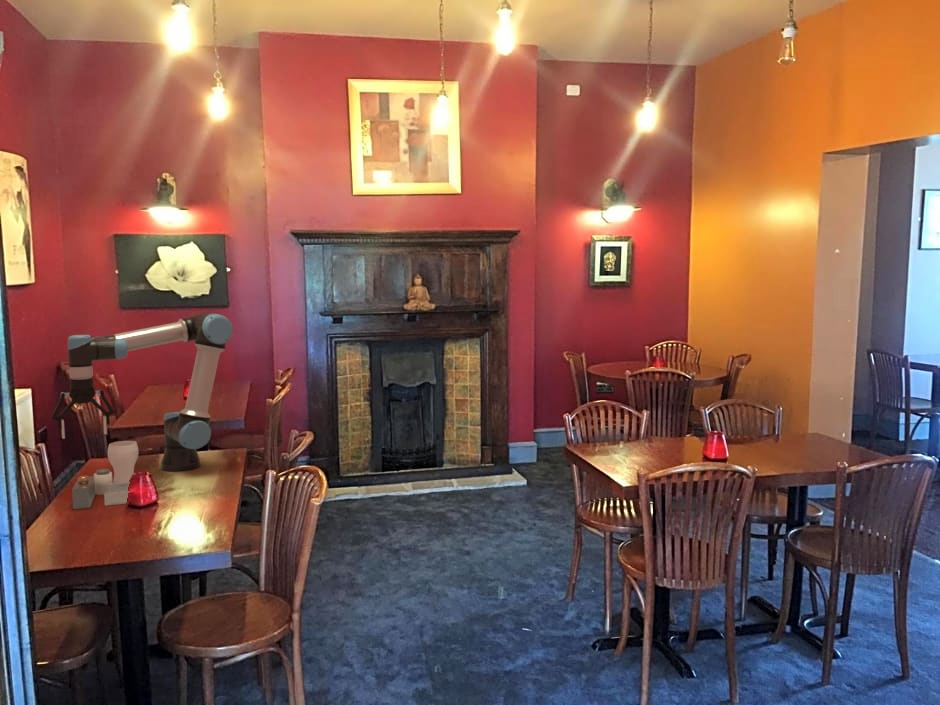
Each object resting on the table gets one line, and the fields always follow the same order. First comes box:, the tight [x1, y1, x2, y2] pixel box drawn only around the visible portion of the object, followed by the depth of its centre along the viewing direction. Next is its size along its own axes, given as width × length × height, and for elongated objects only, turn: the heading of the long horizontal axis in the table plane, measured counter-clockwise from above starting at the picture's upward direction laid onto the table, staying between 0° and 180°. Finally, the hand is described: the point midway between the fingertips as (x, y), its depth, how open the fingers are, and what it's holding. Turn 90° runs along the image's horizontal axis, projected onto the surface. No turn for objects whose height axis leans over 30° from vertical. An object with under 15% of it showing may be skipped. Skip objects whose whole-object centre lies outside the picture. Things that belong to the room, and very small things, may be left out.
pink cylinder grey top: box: [93, 468, 113, 496], centre depth 269 cm, size 6×6×8 cm
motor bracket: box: [71, 475, 130, 510], centre depth 259 cm, size 18×16×9 cm
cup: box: [107, 440, 139, 483], centre depth 282 cm, size 11×11×15 cm
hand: (84, 435), depth 269 cm, fingers open, 13 cm apart
